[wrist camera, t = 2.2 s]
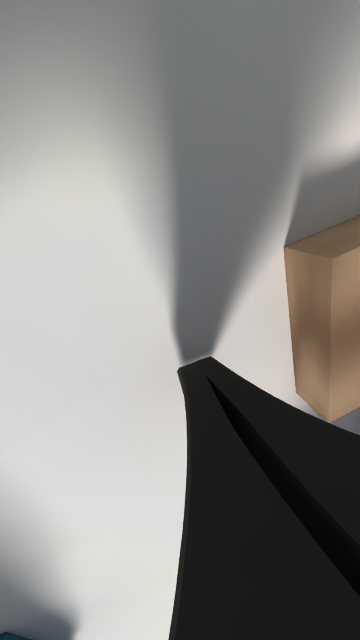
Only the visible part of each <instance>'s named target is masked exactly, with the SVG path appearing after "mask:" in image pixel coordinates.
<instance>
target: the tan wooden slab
mask: <svg viewBox="0 0 360 640" xmlns="http://www.w3.org/2000/svg"><path fill="white" fill-rule="evenodd" d="M284 258H285V270H286V282H287V293H288V305H289V317H290V328H291V340H292V351H293V363H294V375H295V386H296V393H297V394H298V395H299V396H300V397H301V398H302V399H303V400H305V401H306V402H307V403H308V404H309V405H310V406H311V407H312V408H313V409H314V410H315V411H316V412H317V413H318V414H319V415H320V416H321V417H322V418H323V419H324V420H325V421H326V422H327V423H331V422H333V421H335V420H336V419H338V418H340V417H342V416H344V415H346V414H348V413H350V412H352V411H353V410H355V409H357V408H359V407H360V215H359V216H357V217H354V218H352V219H350V220H347V221H345V222H342V223H340V224H338V225H335V226H333V227H331V228H328V229H326V230H323V231H321V232H319V233H316V234H314V235H312V236H309V237H307V238H304V239H302V240H300V241H297V242H295V243H293V244H290V245H288V246H286V247H284Z"/></svg>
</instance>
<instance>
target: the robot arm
mask: <svg viewBox="0 0 360 640" xmlns="http://www.w3.org/2000/svg"><path fill="white" fill-rule="evenodd" d="M177 373H178V376H179V380H180V383H181V387H182V391H183V394H184V399H185V409H186V421H187V477H186V494H185V509H184V521H183V532H182V541H181V549H180V558H179V567H178V575H177V584H176V592H175V599H174V607H173V614H172V621H171V627H170V634H169V640H360V435H357V434H354V433H352V432H349V431H346V430H344V429H342V428H339V427H337V426H335V425H332V424H330V423H327V422H325V421H323V420H321V419H318V418H316V417H314V416H312V415H310V414H308V413H305V412H303V411H301V410H299V409H297V408H295V407H293V406H291V405H289V404H287V403H285V402H284V401H282V400H280V399H278V398H276V397H274V396H272V395H271V394H269V393H267V392H265V391H264V390H262V389H260V388H259V387H257V386H255V385H254V384H252V383H250V382H249V381H247V380H245V379H244V378H242V377H241V376H239V375H238V374H236V373H234V372H233V371H231V370H230V369H228V368H227V367H226V366H224V365H223V364H221V363H220V362H218V361H217V360H216V359H214V358H213V357H211V356H210V357H207V358H204V359H202V360H199V361H196V362H193V363H191V364H188V365H185V366H183V367H180V368H179V369H178V371H177Z"/></svg>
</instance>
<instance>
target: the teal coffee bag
mask: <svg viewBox="0 0 360 640" xmlns="http://www.w3.org/2000/svg"><path fill="white" fill-rule="evenodd" d="M0 640H30V639H26V638H23V637H20V636H16V635H13V634H10V633H4V634H2V635H0Z"/></svg>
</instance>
